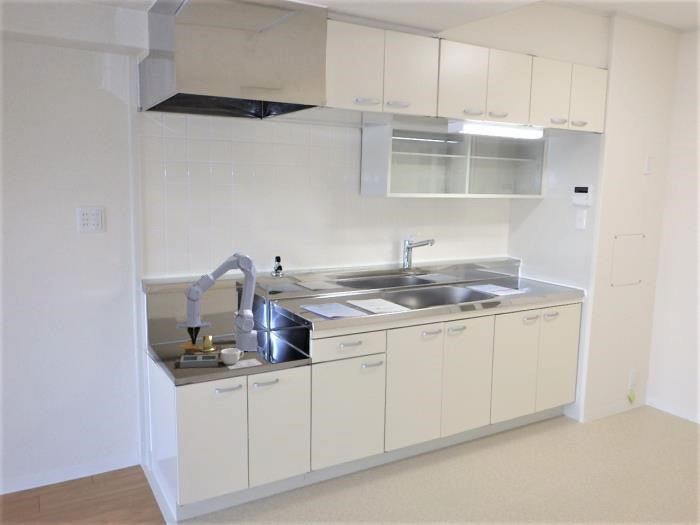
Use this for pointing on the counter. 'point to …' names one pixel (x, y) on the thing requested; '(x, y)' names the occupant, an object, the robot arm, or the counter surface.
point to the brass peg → (207, 344)
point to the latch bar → (189, 345)
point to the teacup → (230, 355)
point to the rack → (199, 361)
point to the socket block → (197, 352)
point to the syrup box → (235, 326)
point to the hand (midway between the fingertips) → (193, 344)
